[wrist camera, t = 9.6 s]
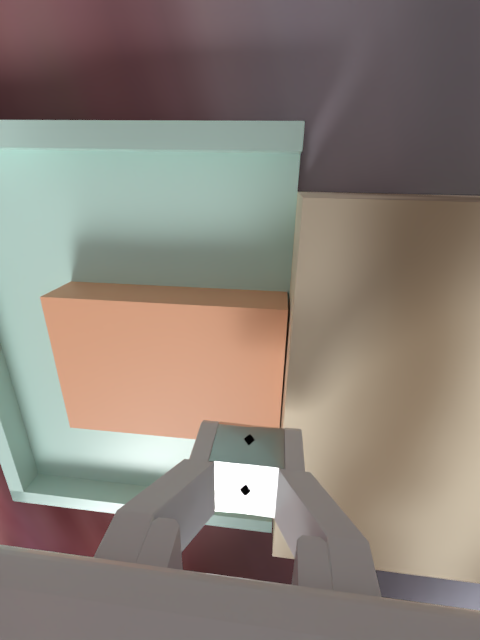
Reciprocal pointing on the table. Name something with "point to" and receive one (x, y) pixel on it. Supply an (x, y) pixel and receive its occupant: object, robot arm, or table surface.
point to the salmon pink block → (167, 356)
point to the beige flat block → (390, 372)
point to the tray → (125, 270)
